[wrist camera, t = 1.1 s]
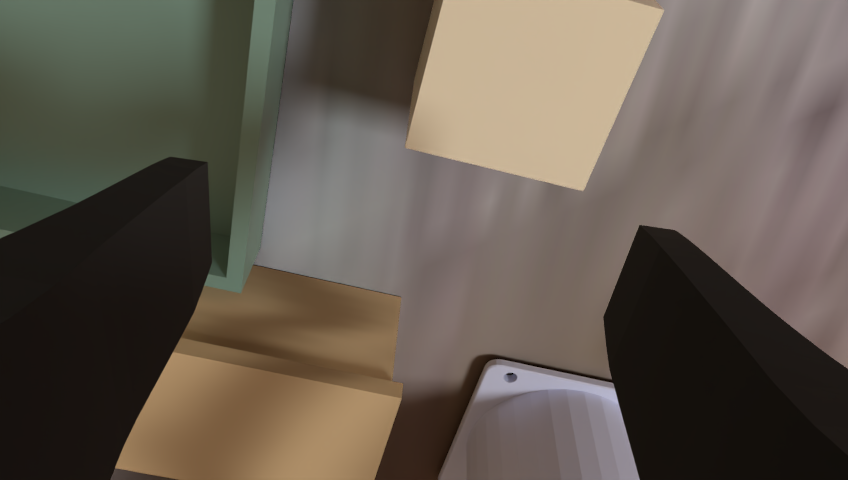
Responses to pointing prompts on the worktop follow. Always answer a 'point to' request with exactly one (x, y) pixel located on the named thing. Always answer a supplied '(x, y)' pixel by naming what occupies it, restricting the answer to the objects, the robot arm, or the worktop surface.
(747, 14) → the worktop surface
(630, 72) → the sandstone cube
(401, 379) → the worktop surface
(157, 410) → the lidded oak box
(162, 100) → the tray
